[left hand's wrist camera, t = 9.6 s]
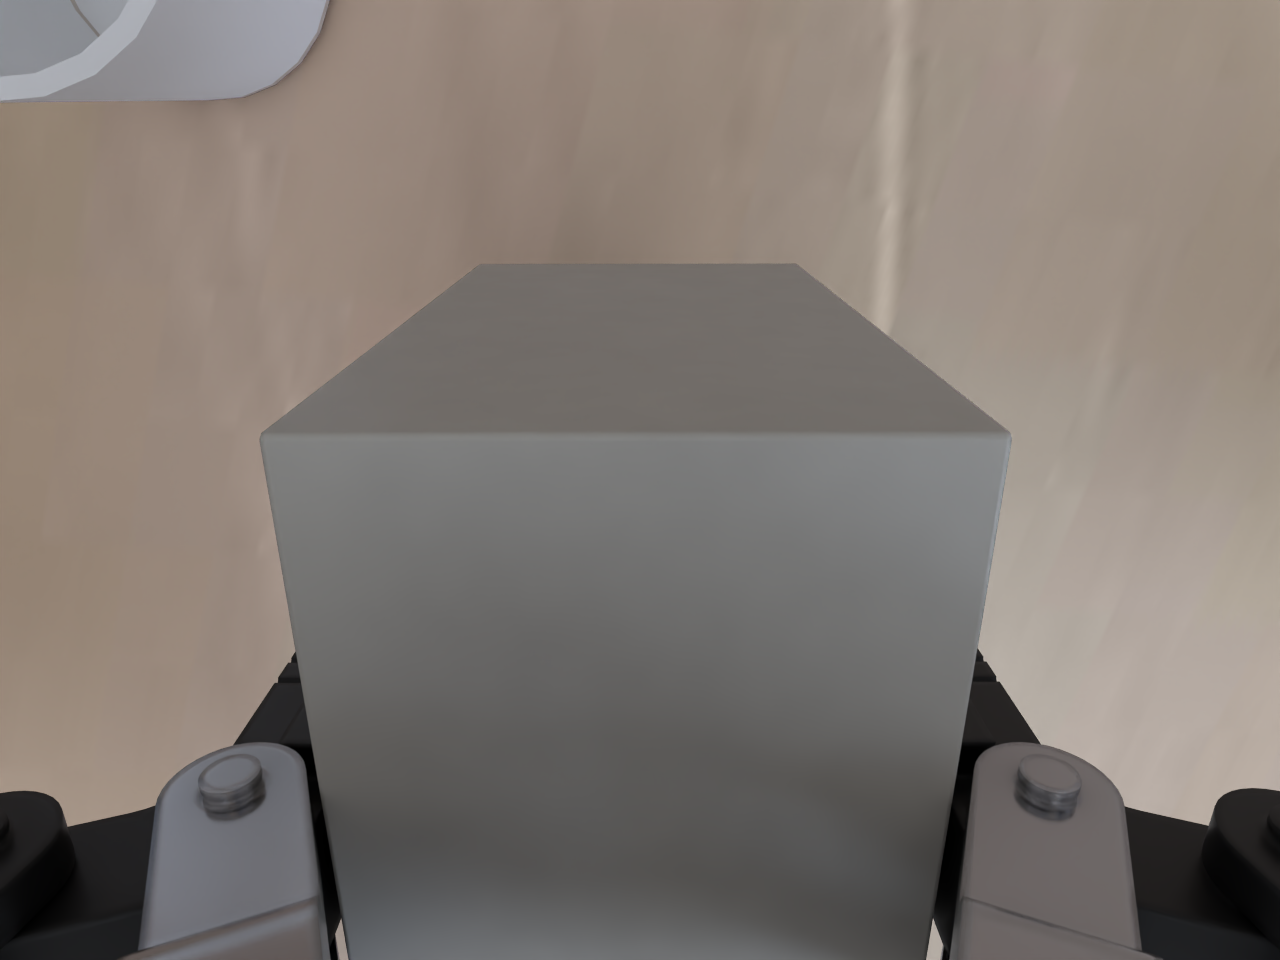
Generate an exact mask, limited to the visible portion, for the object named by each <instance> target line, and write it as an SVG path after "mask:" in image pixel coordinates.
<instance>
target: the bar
mask: <svg viewBox="0 0 1280 960" xmlns="http://www.w3.org/2000/svg"><path fill="white" fill-rule="evenodd" d="M1011 441H1012V438H1011V434H1010V432H1009V431H1008V430H1006V429H1005V428H1004V427H1003V426H1001V425H1000V424H999V423H998V422H996V421H995V420H994V419H993V418H991V417H990V416H989V415H987V414H986V413H985V412H984V411H982V410H981V409H980V408H979V407H977V406H976V405H975V404H974V403H972V402H971V401H970V400H968V399H967V398H966V397H965V396H963V395H962V394H961V393H960V392H958V391H957V390H956V389H954V388H953V387H952V386H951V385H949V384H948V383H947V382H946V381H944V380H943V379H942V378H941V377H939V376H938V375H937V374H935V373H934V372H933V371H932V370H930V369H929V368H928V367H927V366H925V365H924V364H923V363H922V362H920V361H919V360H918V359H916V358H915V357H914V356H913V355H911V354H910V353H909V352H908V351H906V350H905V349H904V348H903V347H901V346H900V345H899V344H897V343H896V342H895V341H894V340H892V339H891V338H890V337H889V336H887V335H886V334H885V333H884V332H882V331H881V330H880V329H878V328H877V327H876V326H875V325H873V324H872V323H871V322H870V321H868V320H867V319H866V318H864V317H863V316H862V315H861V314H859V313H858V312H857V311H856V310H854V309H853V308H852V307H851V306H849V305H848V304H847V303H845V302H844V301H843V300H842V299H840V298H839V297H838V296H837V295H835V294H834V293H833V292H832V291H830V290H829V289H828V288H826V287H825V286H824V285H823V284H821V283H820V282H819V281H818V280H816V279H815V278H814V277H813V276H811V275H810V274H809V273H807V272H806V271H805V270H804V269H802V268H801V267H800V266H799V265H797V264H480V265H478V266H477V267H476V268H474V269H473V270H472V271H470V272H469V273H468V274H467V275H465V276H464V277H463V278H461V279H460V280H459V281H458V282H456V283H455V284H454V285H452V286H451V287H450V288H448V289H447V290H446V291H445V292H443V293H442V294H441V295H439V296H438V297H437V298H436V299H434V300H433V301H432V302H430V303H429V304H428V305H427V306H425V307H424V308H423V309H421V310H420V311H419V312H417V313H416V314H415V315H414V316H412V317H411V318H410V319H408V320H407V321H406V322H405V323H403V324H402V325H401V326H399V327H398V328H397V329H395V330H394V331H393V332H392V333H390V334H389V335H388V336H386V337H385V338H384V339H383V340H381V341H380V342H379V343H377V344H376V345H375V346H373V347H372V348H371V349H370V350H368V351H367V352H366V353H364V354H363V355H362V356H361V357H359V358H358V359H357V360H355V361H354V362H353V363H351V364H350V365H349V366H348V367H346V368H345V369H344V370H342V371H341V372H340V373H339V374H337V375H336V376H335V377H333V378H332V379H331V380H330V381H328V382H327V383H326V384H324V385H323V386H322V387H320V388H319V389H318V390H317V391H315V392H314V393H313V394H311V395H310V396H309V397H308V398H306V399H305V400H304V401H302V402H301V403H300V404H298V405H297V406H296V407H295V408H293V409H292V410H291V411H289V412H288V413H287V414H286V415H284V416H283V417H282V418H280V419H279V420H278V421H276V422H275V423H274V424H273V425H271V426H270V427H269V428H267V429H266V430H265V431H264V432H262V433H261V436H260V446H261V452H262V457H263V463H264V469H265V475H266V481H267V487H268V492H269V498H270V504H271V510H272V516H273V522H274V527H275V533H276V539H277V545H278V551H279V556H280V562H281V568H282V574H283V580H284V586H285V591H286V597H287V603H288V609H289V615H290V621H291V626H292V632H293V638H294V644H295V650H296V656H297V661H298V667H299V673H300V679H301V685H302V691H303V696H304V702H305V708H306V714H307V720H308V726H309V731H310V737H311V743H312V749H313V755H314V761H315V766H316V772H317V778H318V784H319V790H320V795H321V801H322V807H323V813H324V819H325V825H326V830H327V836H328V842H329V848H330V854H331V860H332V865H333V871H334V877H335V883H336V889H337V895H338V900H339V906H340V912H341V918H342V924H343V930H344V935H345V941H346V947H347V953H348V959H349V960H926V956H927V950H928V944H929V938H930V932H931V926H932V920H933V914H934V908H935V902H936V896H937V890H938V884H939V878H940V871H941V865H942V859H943V853H944V847H945V841H946V835H947V829H948V823H949V817H950V811H951V805H952V799H953V793H954V787H955V781H956V775H957V768H958V762H959V756H960V750H961V744H962V738H963V732H964V726H965V720H966V714H967V708H968V702H969V696H970V690H971V684H972V678H973V672H974V665H975V659H976V653H977V647H978V641H979V635H980V629H981V623H982V617H983V611H984V605H985V599H986V593H987V587H988V581H989V575H990V569H991V562H992V556H993V550H994V544H995V538H996V532H997V526H998V520H999V514H1000V508H1001V502H1002V496H1003V490H1004V484H1005V478H1006V472H1007V466H1008V459H1009V453H1010V447H1011Z"/></svg>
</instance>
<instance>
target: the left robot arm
mask: <svg viewBox="0 0 1280 960" xmlns="http://www.w3.org/2000/svg"><path fill="white" fill-rule="evenodd" d="M291 659H292V660H291V663H288V664H287V665H286V667H285V668H284V670H283V671H282V673H281V674H280V676H279V677H278V683H274V685H273V686H272V688H271V689H270V691H269V692H268V694H267V695H266V697H265V698H264V700H263V701H262V703H261V704H260V706H259V707H258V709H257V710H256V712H255V713H254V715H253V716H252V718H251V719H250V721H249V722H248V724H247V725H246V727H245V728H244V730H243V731H242V733H241V734H240V736H239V737H238V739H237V740H236V742H235V743H234V745H233V746H230V747H226V748H223V749H220V750H217V751H214V752H212V753H209V754H207V755H205V756H203V757H201V758H199V759H197V760H195V761H194V762H192V763H190V764H189V765H187V766H186V767H184V768H183V769H182V770H181V771H179V772H178V773H177V774H176V775H175V776H174V777H172V778H171V779H170V780H169V781H168V783H167V784H166V785H165V787H164V788H163V789H162V791H161V793H160V795H159V797H158V799H157V803H156V806H153V807H150V808H147V809H144V810H140V811H136V812H132V813H128V814H124V815H119V816H115V817H110V818H106V819H101V820H97V821H92V822H88V823H83V824H79V825H74V826H70V827H67V824H66V820H65V817H64V814H63V811H62V808H61V806H60V804H59V802H57V801H56V800H55V799H54V798H53V797H51V796H49V795H47V794H44V793H39V792H34V791H13V792H6V793H0V960H340V959H339V953H338V947H337V942H336V936H335V933H336V930H337V928H338V925H339V922H340V920H341V912H340V906H339V900H338V895H337V889H336V883H335V877H334V871H333V865H332V860H331V854H330V848H329V842H328V836H327V830H326V825H325V819H324V813H323V807H322V801H321V795H320V790H319V784H318V778H317V772H316V766H315V761H314V755H313V749H312V743H311V737H310V731H309V726H308V720H307V714H306V708H305V702H304V696H303V691H302V685H301V679H300V673H299V667H298V661H297V656H296V652H295V653H294V655H293V656H292V658H291ZM933 919H934V921H935V924H936V927H937V929H938V932H939V935H940V937H941V940H942V943H943V947H942V953H941V959H940V960H1280V791H1275V790H1269V789H1257V788H1248V789H1239V790H1235V791H1231V792H1229V793H1227V794H1225V795H1223V796H1222V797H1221V798H1220V799H1219V800H1218V801H1217V803H1216V805H1215V808H1214V811H1213V814H1212V817H1211V821H1210V824H1209V826H1207V825H1202V824H1198V823H1193V822H1189V821H1184V820H1180V819H1175V818H1171V817H1166V816H1162V815H1157V814H1153V813H1148V812H1144V811H1140V810H1136V809H1132V808H1128V807H1125V806H1124V802H1123V799H1122V797H1121V795H1120V793H1119V791H1118V789H1117V788H1116V787H1115V785H1114V784H1113V783H1112V781H1111V780H1110V779H1109V778H1108V777H1106V776H1105V775H1104V774H1103V773H1102V772H1101V771H1100V770H1098V769H1097V768H1096V767H1094V766H1093V765H1091V764H1090V763H1088V762H1086V761H1085V760H1083V759H1081V758H1079V757H1077V756H1075V755H1073V754H1071V753H1068V752H1066V751H1063V750H1060V749H1057V748H1054V747H1050V746H1047V745H1041V744H1040V742H1039V741H1038V739H1037V738H1036V736H1035V735H1034V733H1033V732H1032V730H1031V729H1030V727H1029V726H1028V724H1027V723H1026V721H1025V719H1024V718H1023V716H1022V715H1021V713H1020V712H1019V710H1018V709H1017V707H1016V706H1015V704H1014V703H1013V701H1012V700H1011V698H1010V697H1009V695H1008V694H1007V692H1006V691H1005V689H1004V688H1003V686H1002V685H1001V683H1000V682H997V681H996V675H995V674H994V672H993V671H992V669H991V668H990V666H989V665H988V663H987V662H984V661H983V656H982V654H981V653H980V651H979V650H978V648H977V653H976V659H975V665H974V672H973V678H972V684H971V690H970V696H969V702H968V708H967V714H966V720H965V726H964V732H963V738H962V744H961V750H960V756H959V762H958V768H957V775H956V781H955V787H954V793H953V799H952V805H951V811H950V817H949V823H948V829H947V835H946V841H945V847H944V853H943V859H942V865H941V871H940V878H939V884H938V890H937V896H936V902H935V908H934V914H933Z"/></svg>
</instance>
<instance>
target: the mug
mask: <svg viewBox="0 0 1280 960" xmlns="http://www.w3.org/2000/svg"><path fill="white" fill-rule="evenodd" d="M329 2H330V0H0V103H4V102H93V101H182V100H222V99H233V98H244V97H247V96H250V95H252V94H254V93H257V92H259V91H262V90H264V89H266V88H269V87H271V86H274V85H276V84H277V83H278V82H279V81H281V80H282V79H283V78H284V77H285V76H286V75H288V74H289V73H290V72H291V71H292V70H293V69H295V68H296V67H297V66H298V65H299V64H300V63H301V62H302V61H303V59H304V58H305V56H306V54H307V53H308V51H309V50H310V48H311V47H312V45H313V43H314V42H315V40H316V39H317V37H318V36H319V34H320V32H321V28H322V25H323V22H324V18H325V15H326V12H327V8H328V5H329Z"/></svg>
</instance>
